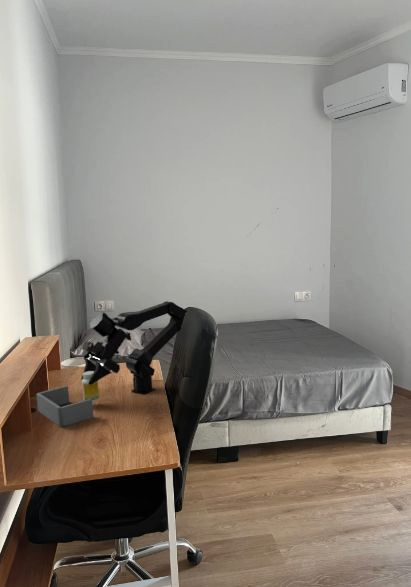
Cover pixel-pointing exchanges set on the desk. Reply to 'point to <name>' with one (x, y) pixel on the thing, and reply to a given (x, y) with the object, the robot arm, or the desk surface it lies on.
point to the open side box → (66, 414)
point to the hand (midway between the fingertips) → (85, 382)
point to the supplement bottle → (89, 387)
